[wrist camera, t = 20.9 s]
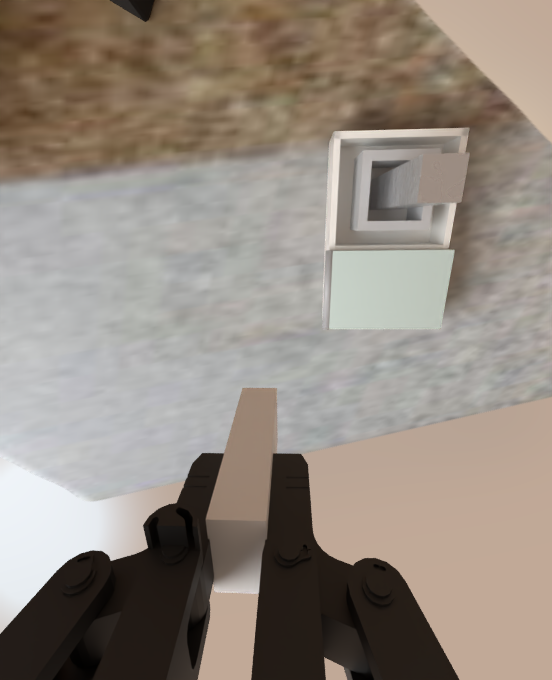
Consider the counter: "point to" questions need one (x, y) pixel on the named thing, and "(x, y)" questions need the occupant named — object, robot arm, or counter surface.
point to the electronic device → (136, 7)
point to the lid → (386, 288)
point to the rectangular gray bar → (421, 182)
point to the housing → (355, 189)
